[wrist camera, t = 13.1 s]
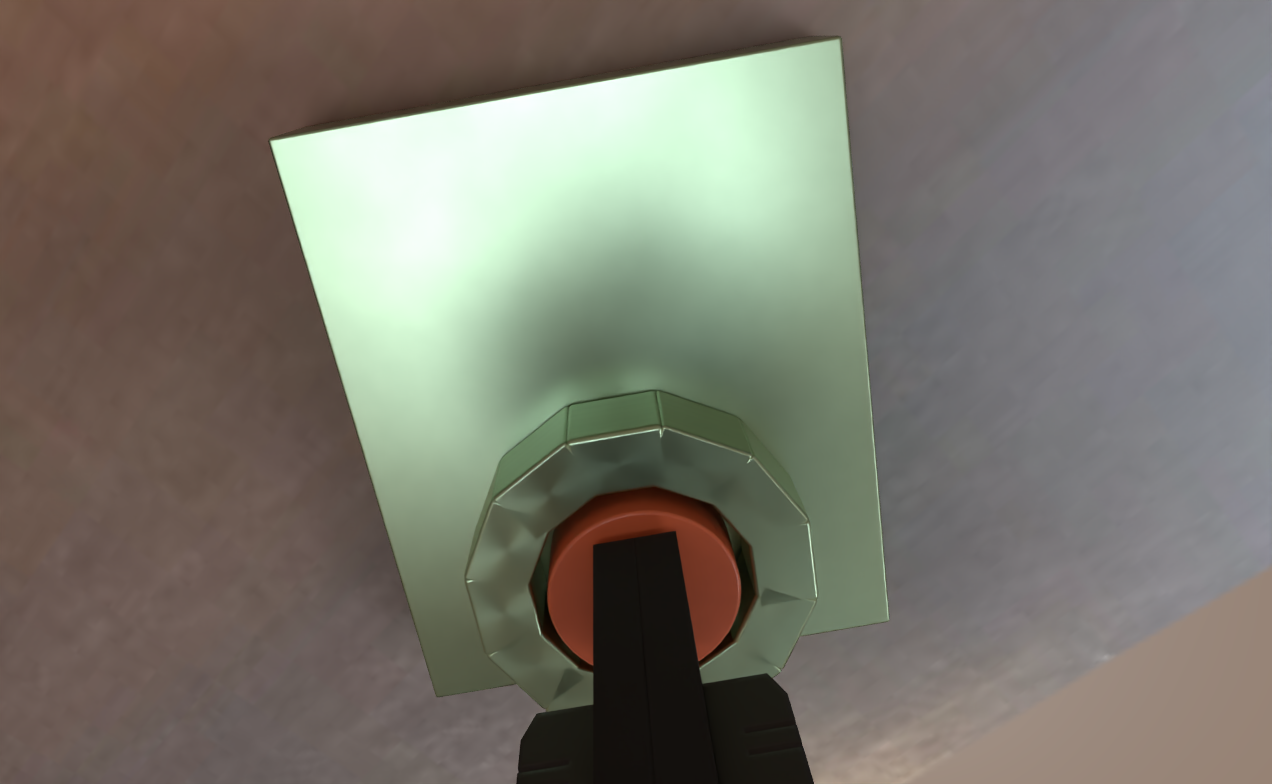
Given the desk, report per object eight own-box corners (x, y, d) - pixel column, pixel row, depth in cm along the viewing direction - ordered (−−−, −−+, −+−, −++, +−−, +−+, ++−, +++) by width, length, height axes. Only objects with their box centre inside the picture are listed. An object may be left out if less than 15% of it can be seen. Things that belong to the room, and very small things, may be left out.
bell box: (863, 577, 22) (918, 685, 18) (452, 646, 22) (424, 768, 19) (813, 35, 18) (872, 34, 14) (303, 127, 18) (227, 150, 14)
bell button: (739, 609, 19) (753, 662, 18) (569, 638, 19) (567, 692, 18) (716, 454, 18) (728, 495, 16) (534, 486, 18) (528, 530, 17)
